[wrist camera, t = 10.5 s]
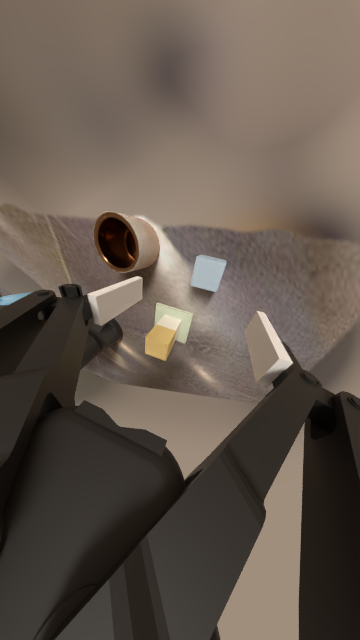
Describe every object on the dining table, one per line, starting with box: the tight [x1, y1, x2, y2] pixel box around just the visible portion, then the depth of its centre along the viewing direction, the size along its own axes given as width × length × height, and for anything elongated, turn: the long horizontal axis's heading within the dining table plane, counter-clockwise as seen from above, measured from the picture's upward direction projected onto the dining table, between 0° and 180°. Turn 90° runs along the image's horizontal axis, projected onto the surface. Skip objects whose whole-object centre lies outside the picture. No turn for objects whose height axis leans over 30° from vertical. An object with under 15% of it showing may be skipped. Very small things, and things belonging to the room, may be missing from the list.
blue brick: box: [191, 255, 226, 292], centre depth 29 cm, size 6×6×6 cm
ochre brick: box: [145, 324, 176, 361], centre depth 35 cm, size 6×6×6 cm
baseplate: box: [155, 303, 194, 343], centre depth 40 cm, size 12×12×7 cm
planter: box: [93, 211, 159, 273], centre depth 29 cm, size 11×11×10 cm
